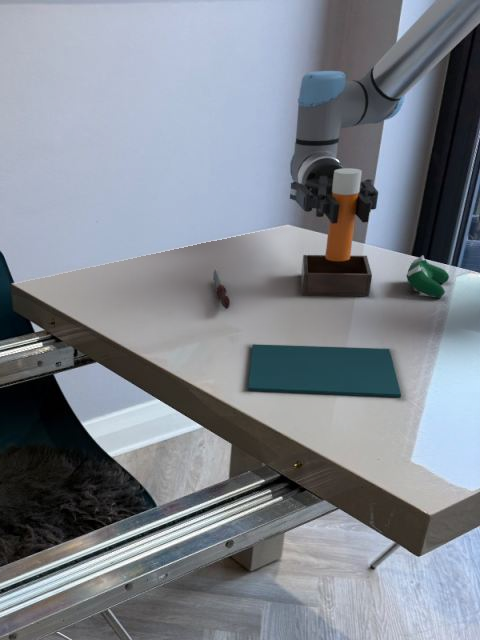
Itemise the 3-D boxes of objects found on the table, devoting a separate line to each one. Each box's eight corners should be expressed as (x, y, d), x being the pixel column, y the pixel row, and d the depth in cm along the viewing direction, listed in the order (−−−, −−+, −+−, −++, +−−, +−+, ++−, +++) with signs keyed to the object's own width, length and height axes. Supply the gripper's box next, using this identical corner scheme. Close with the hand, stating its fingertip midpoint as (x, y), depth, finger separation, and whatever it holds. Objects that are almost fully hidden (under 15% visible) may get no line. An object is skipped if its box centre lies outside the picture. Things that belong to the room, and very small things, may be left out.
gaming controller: (430, 291, 128) (407, 263, 128) (451, 276, 126) (428, 247, 125) (424, 310, 122) (400, 280, 121) (446, 294, 119) (421, 264, 118)
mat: (388, 351, 105) (389, 348, 105) (400, 397, 94) (401, 394, 93) (252, 346, 108) (252, 344, 108) (247, 390, 97) (248, 387, 97)
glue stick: (349, 254, 126) (360, 168, 119) (351, 261, 123) (362, 173, 116) (324, 254, 127) (333, 168, 120) (325, 261, 124) (334, 173, 117)
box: (363, 276, 131) (366, 255, 129) (368, 296, 123) (372, 274, 121) (301, 275, 133) (303, 254, 131) (301, 295, 125) (304, 273, 123)
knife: (208, 279, 133) (209, 261, 132) (217, 278, 133) (218, 261, 131) (221, 317, 118) (222, 298, 116) (231, 317, 118) (232, 298, 116)
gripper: (369, 201, 137) (405, 237, 118) (272, 205, 138) (291, 241, 119) (376, 155, 133) (414, 184, 113) (275, 159, 134) (295, 188, 115)
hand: (351, 213), depth 116 cm, fingers closed on glue stick, 4 cm apart
